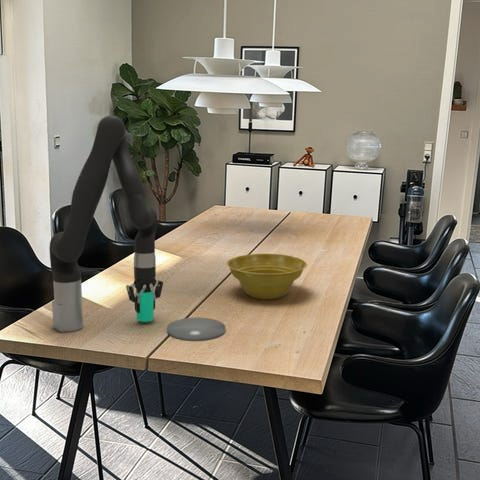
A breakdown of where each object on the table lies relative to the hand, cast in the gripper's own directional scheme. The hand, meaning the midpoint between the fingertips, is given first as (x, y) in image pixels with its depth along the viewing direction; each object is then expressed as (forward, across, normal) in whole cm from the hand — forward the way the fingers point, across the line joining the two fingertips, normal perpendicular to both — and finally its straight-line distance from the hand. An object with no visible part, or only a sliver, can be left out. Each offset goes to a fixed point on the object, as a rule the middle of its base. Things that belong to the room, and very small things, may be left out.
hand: (145, 311), depth 237 cm
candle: (+3, 0, 0) cm, 3 cm away
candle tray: (+4, +10, -17) cm, 20 cm away
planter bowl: (+4, +57, 0) cm, 57 cm away
